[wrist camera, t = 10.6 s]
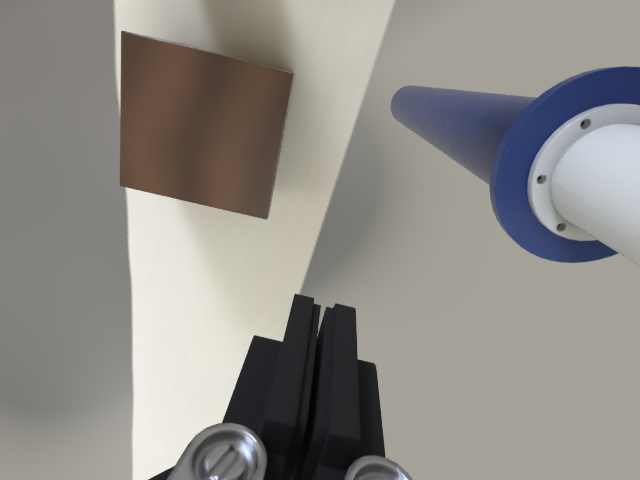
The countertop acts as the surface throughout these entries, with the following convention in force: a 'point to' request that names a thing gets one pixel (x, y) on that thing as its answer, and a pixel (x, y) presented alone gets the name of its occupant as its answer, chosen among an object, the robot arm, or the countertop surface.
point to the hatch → (200, 125)
